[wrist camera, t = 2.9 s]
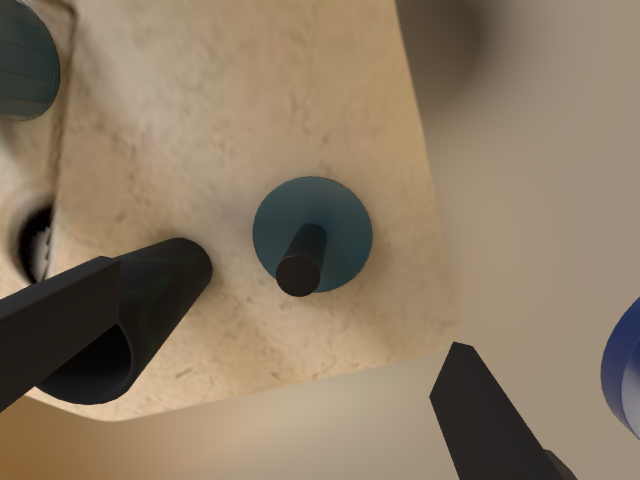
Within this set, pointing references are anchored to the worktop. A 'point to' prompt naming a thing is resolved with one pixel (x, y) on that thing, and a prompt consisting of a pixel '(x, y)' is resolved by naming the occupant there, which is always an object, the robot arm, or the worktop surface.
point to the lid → (312, 235)
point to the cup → (135, 322)
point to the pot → (25, 63)
